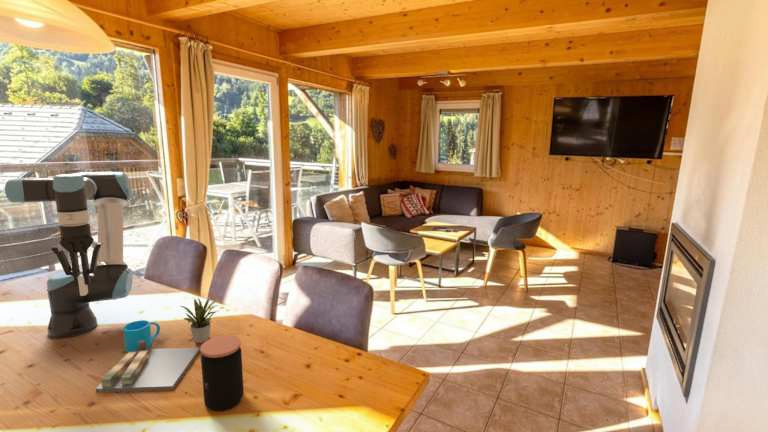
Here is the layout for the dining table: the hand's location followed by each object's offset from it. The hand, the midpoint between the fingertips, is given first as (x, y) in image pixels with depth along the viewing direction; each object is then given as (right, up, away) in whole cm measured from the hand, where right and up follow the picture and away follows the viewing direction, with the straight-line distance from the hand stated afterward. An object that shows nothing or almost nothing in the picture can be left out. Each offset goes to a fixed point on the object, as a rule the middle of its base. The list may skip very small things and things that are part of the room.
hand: (84, 293), depth 125 cm
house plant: (+30, -22, +21) cm, 42 cm away
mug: (+9, -22, +17) cm, 29 cm away
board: (+22, -25, +1) cm, 33 cm away
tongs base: (+15, -24, 0) cm, 28 cm away
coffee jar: (+51, -29, -13) cm, 60 cm away
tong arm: (+18, -24, -2) cm, 30 cm away
